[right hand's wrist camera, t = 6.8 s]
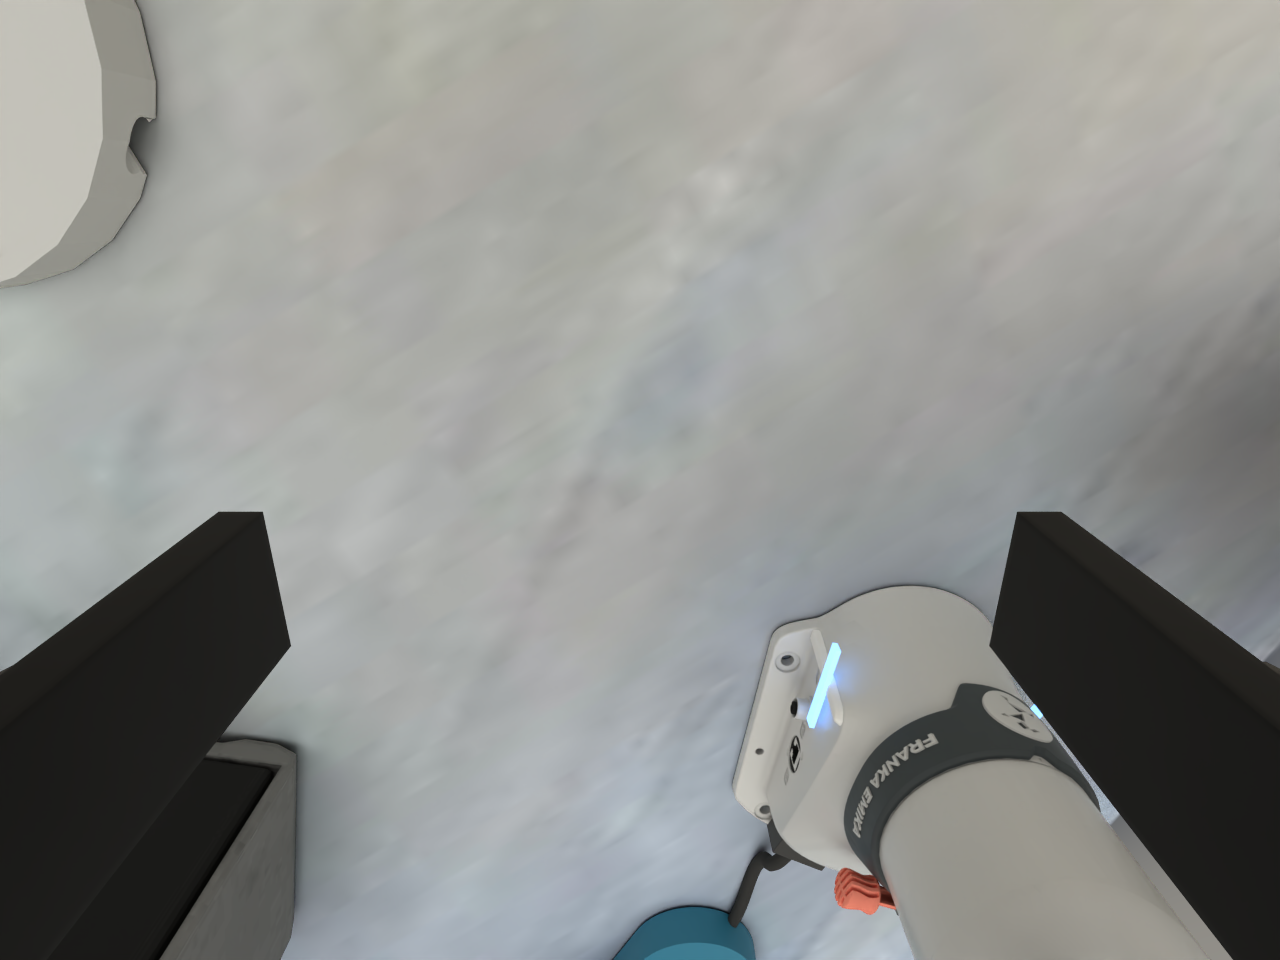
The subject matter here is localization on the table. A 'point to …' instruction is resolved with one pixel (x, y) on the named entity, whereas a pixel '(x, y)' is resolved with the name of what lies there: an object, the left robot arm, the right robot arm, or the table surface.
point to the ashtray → (68, 130)
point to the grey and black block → (205, 869)
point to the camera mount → (689, 937)
